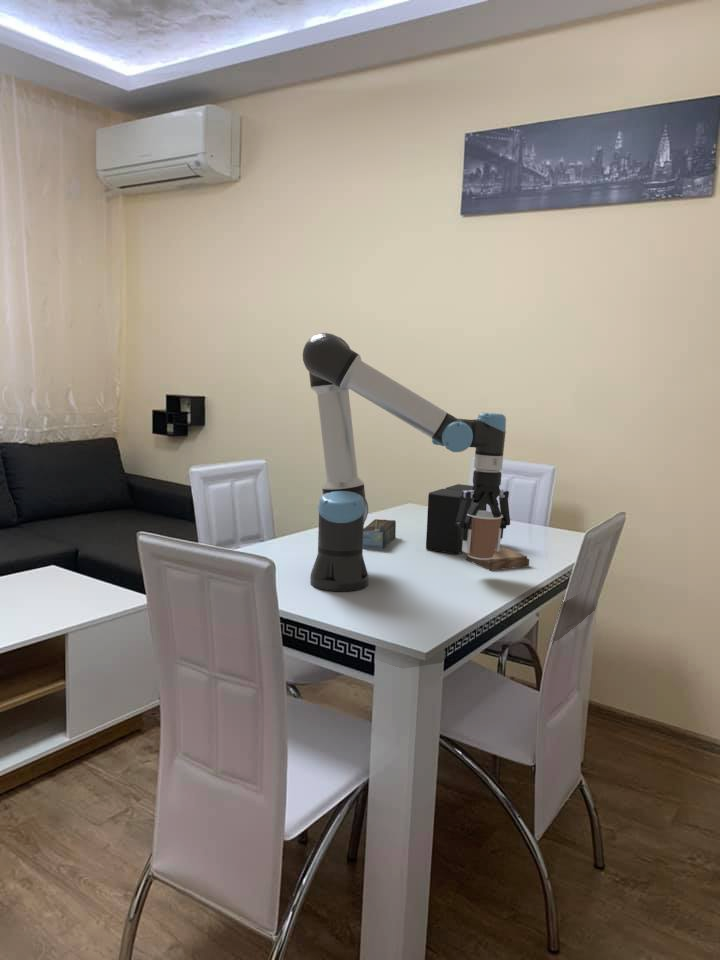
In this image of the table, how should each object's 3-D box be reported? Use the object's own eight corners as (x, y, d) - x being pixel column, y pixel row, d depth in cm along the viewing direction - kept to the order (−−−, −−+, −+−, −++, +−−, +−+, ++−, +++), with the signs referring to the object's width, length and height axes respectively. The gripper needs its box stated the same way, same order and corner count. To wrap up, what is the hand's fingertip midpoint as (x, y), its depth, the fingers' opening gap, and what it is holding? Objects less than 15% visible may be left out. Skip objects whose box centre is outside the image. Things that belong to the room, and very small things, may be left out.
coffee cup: (506, 558, 192) (510, 515, 190) (485, 563, 185) (489, 519, 183) (475, 550, 199) (478, 508, 197) (453, 555, 192) (457, 512, 190)
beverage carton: (358, 548, 221) (359, 528, 220) (373, 536, 239) (374, 517, 238) (382, 550, 219) (383, 530, 218) (396, 538, 237) (397, 519, 236)
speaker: (455, 536, 242) (457, 483, 240) (484, 540, 237) (487, 487, 234) (424, 550, 221) (427, 492, 218) (456, 555, 216) (459, 496, 213)
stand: (489, 570, 200) (489, 560, 199) (466, 559, 210) (466, 550, 210) (528, 566, 205) (529, 556, 205) (504, 556, 216) (505, 547, 216)
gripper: (460, 472, 181) (453, 556, 184) (529, 472, 189) (521, 552, 193) (446, 468, 187) (439, 549, 191) (512, 468, 196) (505, 546, 199)
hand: (480, 551), depth 192 cm, fingers closed on coffee cup, 9 cm apart
